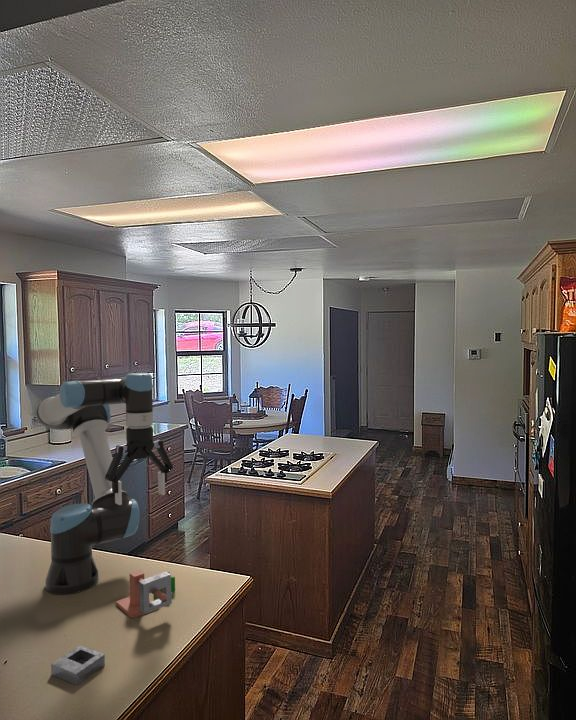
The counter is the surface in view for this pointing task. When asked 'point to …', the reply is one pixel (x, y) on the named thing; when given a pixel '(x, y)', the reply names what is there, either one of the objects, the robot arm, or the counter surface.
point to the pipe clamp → (171, 587)
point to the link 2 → (151, 586)
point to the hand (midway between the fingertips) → (140, 498)
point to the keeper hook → (136, 596)
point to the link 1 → (77, 664)
